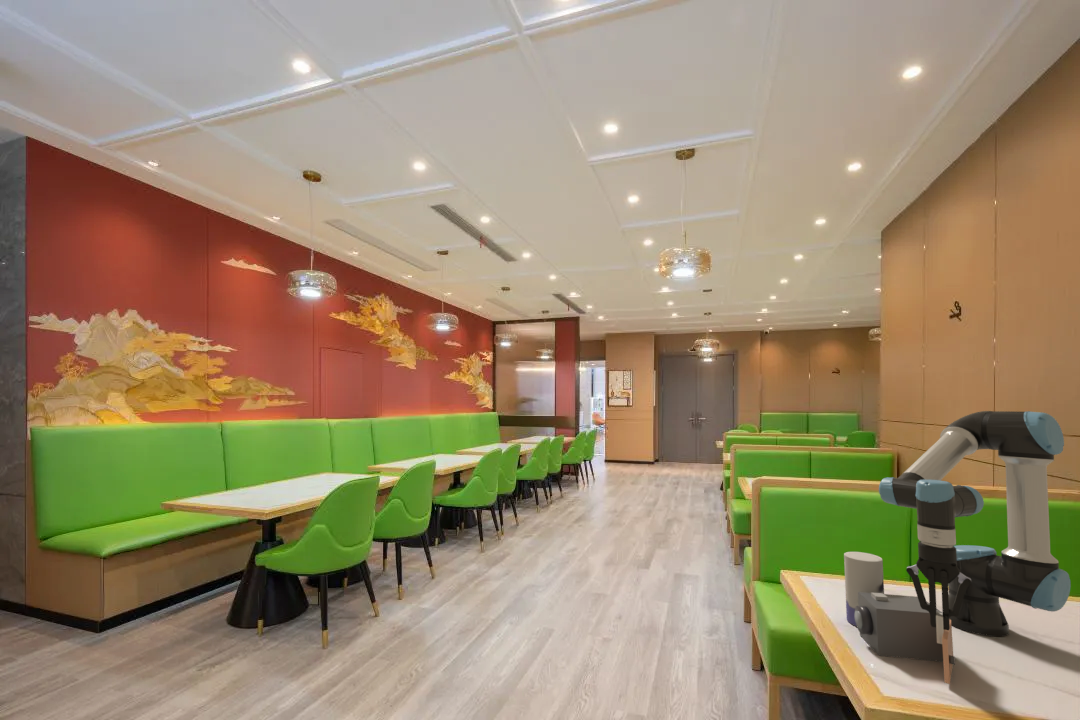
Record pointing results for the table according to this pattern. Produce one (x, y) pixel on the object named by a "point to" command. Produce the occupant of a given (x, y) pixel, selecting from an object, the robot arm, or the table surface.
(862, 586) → the container
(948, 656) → the side door
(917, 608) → the dark gray knobbed box
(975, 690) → the table surface
